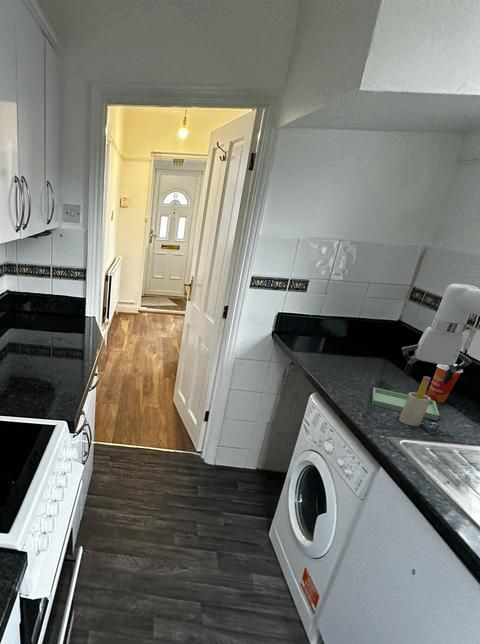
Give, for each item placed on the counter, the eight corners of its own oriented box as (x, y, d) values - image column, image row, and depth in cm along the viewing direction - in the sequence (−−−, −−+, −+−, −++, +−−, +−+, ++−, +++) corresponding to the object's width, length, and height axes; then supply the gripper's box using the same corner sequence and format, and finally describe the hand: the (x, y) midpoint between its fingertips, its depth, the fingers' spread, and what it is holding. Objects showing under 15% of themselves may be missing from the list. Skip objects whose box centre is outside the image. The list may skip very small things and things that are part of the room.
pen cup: (418, 422, 138) (429, 395, 134) (420, 429, 133) (431, 401, 129) (397, 417, 140) (408, 390, 136) (398, 424, 136) (409, 396, 132)
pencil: (412, 421, 137) (430, 377, 130) (412, 423, 135) (431, 378, 129) (405, 420, 138) (423, 375, 131) (406, 422, 136) (424, 377, 130)
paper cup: (418, 393, 160) (433, 360, 154) (439, 395, 159) (455, 362, 153) (430, 402, 153) (446, 368, 147) (452, 405, 152) (469, 370, 146)
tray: (432, 405, 151) (435, 400, 150) (437, 420, 140) (439, 415, 139) (372, 392, 160) (373, 387, 159) (371, 405, 149) (373, 400, 148)
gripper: (482, 329, 122) (457, 382, 129) (412, 318, 131) (392, 368, 138) (487, 335, 117) (461, 390, 124) (413, 323, 125) (393, 375, 132)
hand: (425, 378), depth 131 cm, fingers open, 9 cm apart
